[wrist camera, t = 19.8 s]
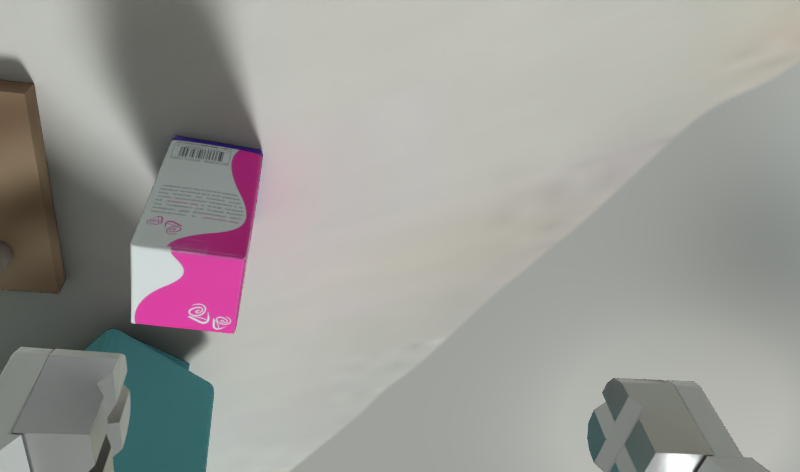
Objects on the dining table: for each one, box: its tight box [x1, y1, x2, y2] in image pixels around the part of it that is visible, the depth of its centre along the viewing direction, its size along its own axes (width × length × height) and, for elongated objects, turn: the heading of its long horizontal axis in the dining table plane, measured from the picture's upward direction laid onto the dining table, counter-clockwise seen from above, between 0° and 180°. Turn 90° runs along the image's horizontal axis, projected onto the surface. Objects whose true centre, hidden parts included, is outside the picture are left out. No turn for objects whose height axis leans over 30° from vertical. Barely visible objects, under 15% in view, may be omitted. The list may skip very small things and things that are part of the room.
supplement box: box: [130, 136, 263, 334], centre depth 39 cm, size 6×6×12 cm
